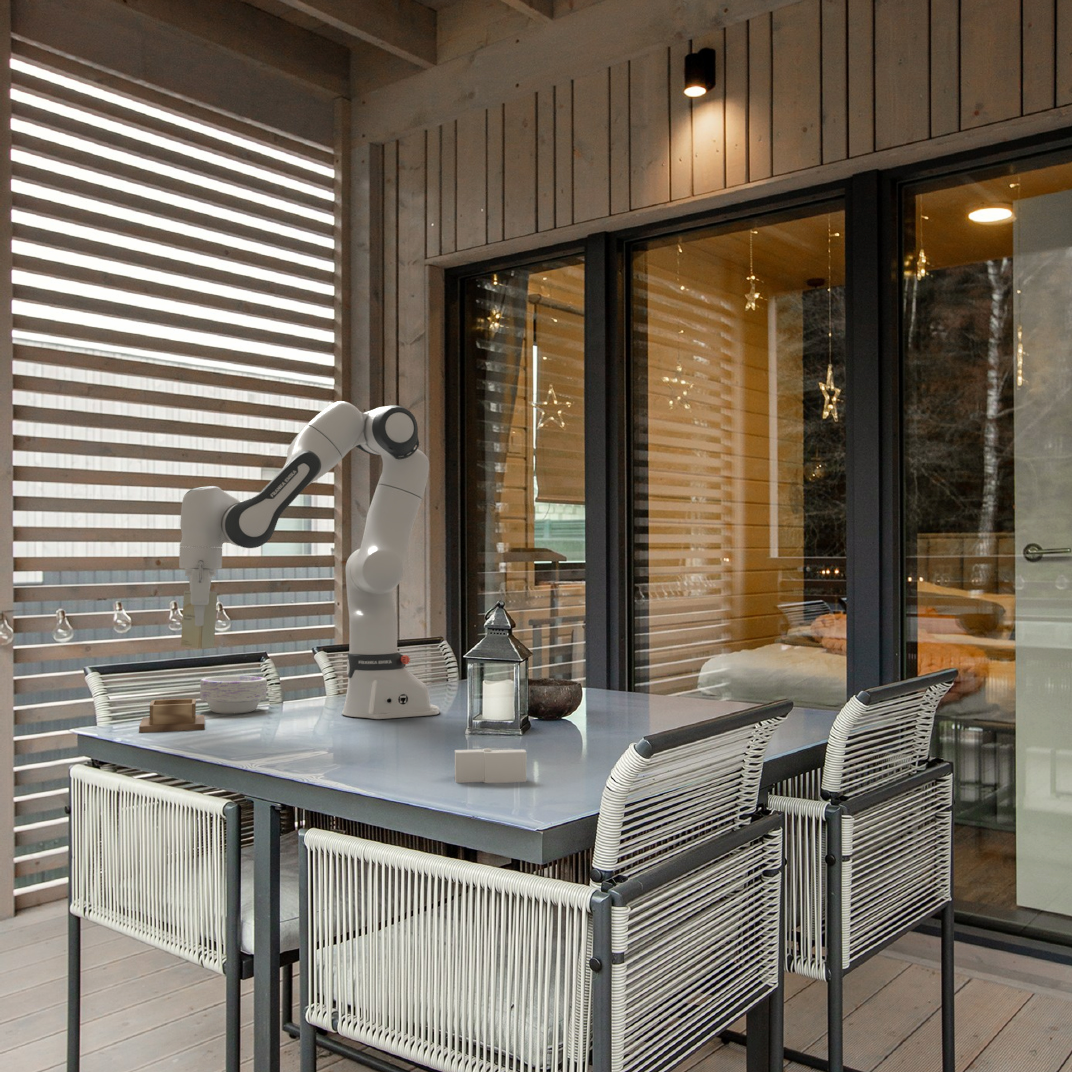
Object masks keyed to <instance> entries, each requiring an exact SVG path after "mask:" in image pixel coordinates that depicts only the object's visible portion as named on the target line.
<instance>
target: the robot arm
mask: <svg viewBox="0 0 1072 1072" xmlns="http://www.w3.org/2000/svg"><path fill="white" fill-rule="evenodd" d="M418 427H419V426H418V421H417V419H416V417H415V415H414V414H413V413H412V412H411V411H410V410H409V409H407V408H405V407H403V406H399V405H393V404H391V405H387V406H378V407H376V408H374V409H371V410H369V411H365V412H362V411H360V409H359V408H358V407H357V406H355V405H354V404H352V403H350V402H348V401H342V400H339V401H335V402H334V403H332V404H330V405H329V406H328V407H326V408H325V409H323V410H322V411H321V412H319V413H318V414H316V415H315V416H314V417H313V418H312V419H311V420H310V421H308V423H306V425H305V426H304V427H303V428H302V429H301V430H300V431H299V432H298V434H296V436H295V437H294V439H293V440H292V441H291V443H290V444H289V446H288V448H287V453H286V460H285V464H284V465H283V467H282V469H281V470H280V471H279V472H278V473H277V474H276V475H275V476H274V477H273V478H272V479H271V480H270V481H269V483H267V484H266V486H264V488H262V490H261V491H260V492H258V494H256V495H255V496H253V497H251V498H249V499H246V500H241V499H238V498H236V497H235V496H232V495H230V494H228V493H227V492H225V491H224V490H222V488H221V487H219V486H215V485H211V486H210V485H209V486H201V487H194V488H191V489H189V490H188V491H186V493H185V494H183V495H184V496H183V497H182V503H181V508H180V525H179V528H180V530H181V541H180V543H179V561H178V562H179V563H178V565H179V566H178V568H179V569H185V570H184V572H185V573H184V576H185V577H188V580H189V581H188V583H189V591H191V604H192V605H194V612H195V625H196V626H203V624H204V611H205V605H208V603H209V592H211V591H210V590H211V584H212V578H213V577H216V576H217V575H216V571H217V570H221V569H222V568H223V544H225V543H228V544H231V545H234V546H236V547H241V548H244V549H256V548H259V547H262V546H263V545H265V544H266V543H268V541H270V539H271V537H273V535H274V532H275V529H276V527H277V523H278V521H279V519H280V517H281V515H282V514H283V512H284V511H285V510H286V509H287V508H288V507H289V506H290V505H291V504H292V503H293V502H294V500H295V499H296V498H297V497H298V496H299V495H300V494H301V493H302V492H303V490H304V489H306V488H307V487H308V486H309V485H310V484H312V483H313V482H314V483H315V481H317V480H319V479H320V478H321V477H323V476H324V475H326V474H327V473H328V472H330V471H332V469H333V468H334V467H336V466H337V465H338V464H339V463H340V462H341V461H342V459H344V458H345V456H346V455H347V454H348V453H349V452H350V451H351V450H352V449H354V448H355V447H356V448H357V449H359V450H361V451H362V452H364V453H366V454H369V455H372V456H380V457H381V461H382V469H381V474H380V477H379V480H378V482H377V485H376V487H375V490H374V491H375V492H374V493H373V496H372V500H371V503H370V505H369V508H368V511H367V513H366V514H367V515H366V520H365V521H366V522H365V527H364V532H363V537H362V539H361V544H360V548H358V549H356V550H355V551H354V552H352V553H351V554H350V556H349V557H348V558H347V561H346V564H345V584H346V587H345V588H346V598H347V609H348V618H349V624H348V625H349V629H348V630H349V639H348V640H349V647H348V648H349V650H348V651H349V652H348V653H347V658H346V675H347V678H348V679H347V689H346V696H345V700H344V701H345V702H344V705H343V709H342V711H341V715H344V716H346V717H352V718H353V717H354V718H366V719H374V720H382V719H383V720H384V719H397V718H398V719H399V718H409V717H423V716H435V715H438V714H440V712H441V711H440V707H439V706H438V705H435V704H432V703H431V698H430V692H429V690H428V686H427V685H426V684H425V683H424V682H423V681H422V680H421V679H419V678H418V677H417V676H415V675H414V674H413V673H412V672H410V671H409V670H408V669H406V668H405V667H406V665H409V664H410V662H411V657H410V656H409V655H406V654H405V655H403V654H402V653H400V652H398V617H397V616H398V615H397V613H396V608H395V607H396V605H395V599H394V592H393V591H394V589H396V588H397V586H398V585H399V584H400V583H401V581H402V579H403V576H404V569H405V565H406V560H407V557H408V553H409V547H410V540H411V536H412V531H413V527H414V524H415V523H416V522H415V521H416V519H417V516H418V513H419V510H420V507H421V504H422V501H423V497H424V495H425V490H426V487H427V483H428V478H429V472H430V471H429V470H430V461H429V458H428V456H427V455H426V454H425V453H424V452H423V451H422V450H421V449H419V448H420V441H419V436H418V434H419V428H418Z"/></svg>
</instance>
